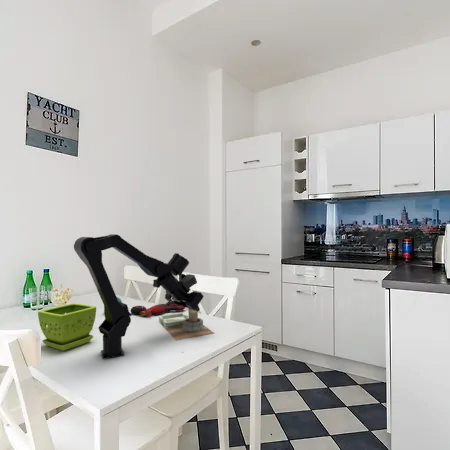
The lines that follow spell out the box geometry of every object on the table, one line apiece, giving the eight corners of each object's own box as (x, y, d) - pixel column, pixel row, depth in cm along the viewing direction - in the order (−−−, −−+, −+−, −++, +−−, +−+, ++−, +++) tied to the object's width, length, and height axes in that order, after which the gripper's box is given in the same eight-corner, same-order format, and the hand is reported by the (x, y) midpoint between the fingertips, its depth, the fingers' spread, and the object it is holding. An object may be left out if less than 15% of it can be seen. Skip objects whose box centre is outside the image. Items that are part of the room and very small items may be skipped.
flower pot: (98, 341, 112) (97, 306, 112) (60, 355, 100) (60, 316, 100) (74, 335, 119) (73, 301, 119) (36, 347, 107) (36, 310, 107)
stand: (214, 336, 116) (214, 325, 116) (175, 343, 109) (175, 331, 109) (191, 318, 139) (191, 309, 139) (157, 323, 132) (157, 313, 132)
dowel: (199, 328, 122) (198, 295, 122) (190, 330, 120) (190, 296, 120) (195, 326, 125) (195, 293, 125) (187, 327, 123) (187, 294, 123)
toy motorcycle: (128, 315, 149) (137, 318, 135) (128, 304, 150) (137, 306, 136) (178, 309, 162) (190, 312, 148) (177, 299, 162) (189, 300, 149)
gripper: (199, 270, 113) (222, 296, 120) (171, 266, 127) (193, 289, 134) (181, 295, 108) (206, 321, 115) (154, 288, 121) (178, 311, 129)
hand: (195, 309), depth 123 cm, fingers closed on dowel, 4 cm apart
